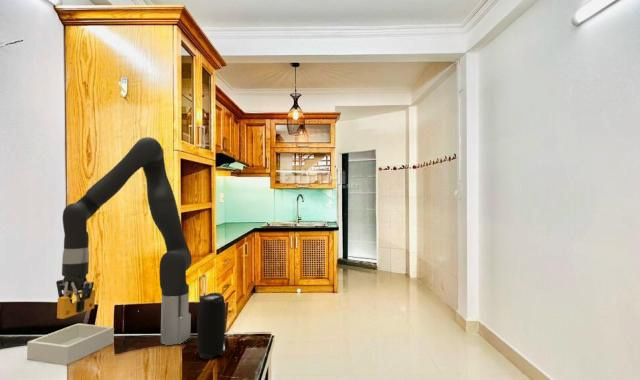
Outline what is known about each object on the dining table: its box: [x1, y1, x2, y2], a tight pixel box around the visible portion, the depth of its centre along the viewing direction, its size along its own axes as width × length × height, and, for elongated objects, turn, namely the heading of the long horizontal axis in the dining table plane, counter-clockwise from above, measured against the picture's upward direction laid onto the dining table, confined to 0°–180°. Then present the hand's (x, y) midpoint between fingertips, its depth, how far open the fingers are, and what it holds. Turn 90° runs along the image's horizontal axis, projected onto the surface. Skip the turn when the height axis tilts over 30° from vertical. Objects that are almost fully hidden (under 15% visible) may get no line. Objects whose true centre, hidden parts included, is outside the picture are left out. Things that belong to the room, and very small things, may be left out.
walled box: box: [26, 323, 115, 366], centre depth 121 cm, size 16×18×6 cm
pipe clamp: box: [56, 289, 96, 320], centre depth 122 cm, size 12×4×6 cm, turn 168°
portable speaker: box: [196, 292, 226, 360], centre depth 119 cm, size 9×9×20 cm
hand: (73, 311), depth 122 cm, fingers closed on pipe clamp, 4 cm apart
